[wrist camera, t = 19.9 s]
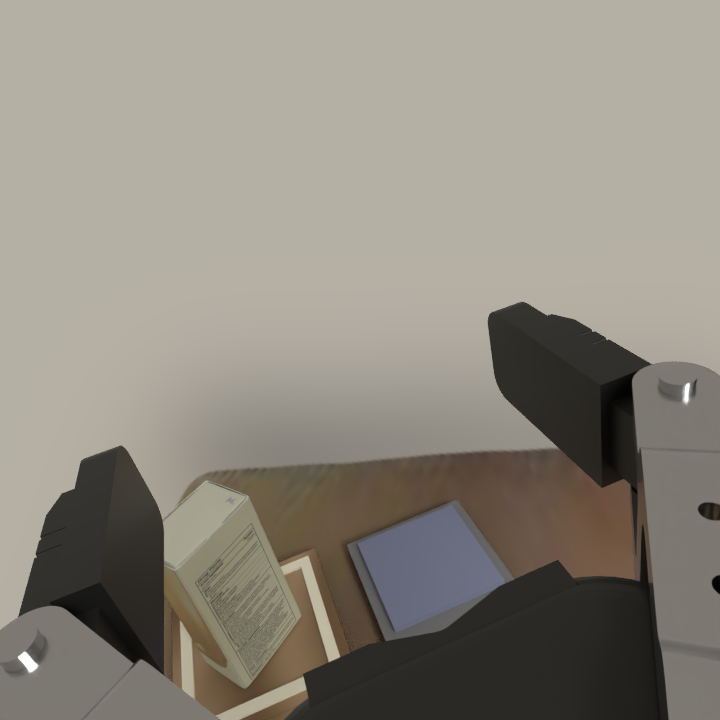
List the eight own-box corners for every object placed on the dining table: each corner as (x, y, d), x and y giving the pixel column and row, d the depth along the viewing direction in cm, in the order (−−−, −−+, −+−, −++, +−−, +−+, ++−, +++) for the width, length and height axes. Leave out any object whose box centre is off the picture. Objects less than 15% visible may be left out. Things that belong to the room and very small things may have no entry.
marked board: (317, 556, 47) (314, 546, 46) (361, 686, 37) (357, 675, 36) (176, 614, 45) (170, 604, 44) (180, 769, 35) (172, 759, 34)
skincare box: (262, 594, 44) (209, 474, 38) (304, 616, 41) (253, 491, 35) (201, 666, 39) (129, 543, 34) (243, 696, 37) (174, 568, 31)
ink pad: (458, 508, 48) (456, 495, 48) (522, 597, 40) (520, 583, 39) (349, 553, 47) (345, 540, 46) (391, 657, 38) (387, 643, 37)
